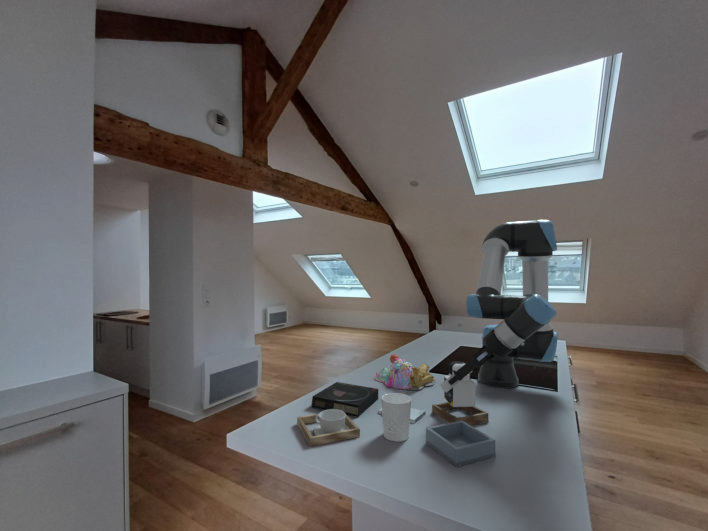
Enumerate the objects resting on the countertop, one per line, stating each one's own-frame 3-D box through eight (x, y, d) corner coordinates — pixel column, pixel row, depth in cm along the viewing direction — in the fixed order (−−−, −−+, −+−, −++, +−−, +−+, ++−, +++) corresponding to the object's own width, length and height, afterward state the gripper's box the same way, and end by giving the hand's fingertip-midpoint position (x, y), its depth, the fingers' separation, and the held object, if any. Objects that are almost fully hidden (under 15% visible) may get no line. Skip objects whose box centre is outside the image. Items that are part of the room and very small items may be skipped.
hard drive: (425, 410, 103) (390, 401, 110) (414, 419, 96) (377, 409, 103) (425, 416, 103) (390, 406, 110) (414, 425, 96) (377, 414, 103)
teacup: (355, 427, 94) (355, 410, 94) (341, 443, 84) (342, 425, 85) (323, 421, 97) (323, 405, 97) (307, 436, 88) (307, 418, 88)
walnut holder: (461, 407, 108) (461, 399, 108) (488, 421, 98) (488, 413, 98) (432, 412, 104) (432, 404, 104) (457, 428, 93) (457, 419, 93)
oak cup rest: (341, 416, 100) (341, 409, 100) (359, 436, 88) (359, 428, 88) (297, 424, 95) (297, 416, 95) (310, 446, 82) (310, 438, 82)
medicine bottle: (443, 398, 104) (443, 360, 104) (465, 397, 105) (465, 359, 105) (452, 407, 97) (452, 366, 97) (476, 406, 97) (475, 365, 98)
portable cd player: (311, 409, 107) (311, 396, 107) (336, 392, 122) (336, 381, 122) (357, 419, 100) (357, 406, 100) (378, 400, 115) (378, 388, 115)
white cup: (410, 444, 84) (410, 404, 84) (379, 441, 85) (379, 402, 86) (411, 430, 92) (411, 394, 92) (383, 427, 93) (383, 391, 93)
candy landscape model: (442, 379, 139) (442, 357, 139) (422, 396, 119) (422, 370, 120) (389, 369, 153) (389, 349, 153) (362, 383, 133) (363, 360, 133)
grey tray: (461, 434, 89) (461, 420, 90) (495, 456, 79) (495, 440, 79) (426, 442, 85) (426, 427, 85) (456, 466, 74) (456, 449, 74)
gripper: (504, 358, 83) (444, 406, 92) (521, 342, 101) (469, 384, 110) (482, 334, 86) (426, 383, 95) (502, 323, 104) (453, 365, 113)
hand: (449, 383), depth 103 cm, fingers closed on medicine bottle, 10 cm apart
